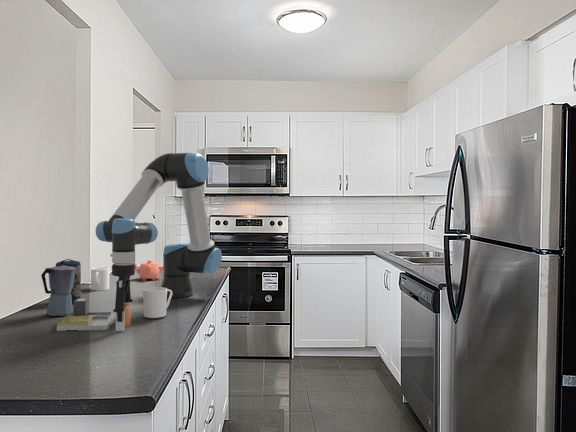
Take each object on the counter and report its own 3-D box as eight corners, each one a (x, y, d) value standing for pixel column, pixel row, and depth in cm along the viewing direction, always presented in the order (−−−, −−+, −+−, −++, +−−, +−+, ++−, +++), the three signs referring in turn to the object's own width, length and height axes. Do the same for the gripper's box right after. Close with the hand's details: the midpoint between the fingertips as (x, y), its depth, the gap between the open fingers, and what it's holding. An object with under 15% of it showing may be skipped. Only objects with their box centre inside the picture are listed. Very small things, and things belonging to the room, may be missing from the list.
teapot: (152, 276, 277) (153, 258, 276) (167, 279, 270) (167, 260, 269) (130, 280, 265) (130, 260, 265) (145, 282, 258) (145, 263, 258)
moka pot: (84, 311, 195) (84, 259, 194) (54, 320, 180) (53, 264, 180) (64, 309, 198) (64, 258, 197) (33, 318, 184) (32, 263, 183)
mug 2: (145, 320, 183) (145, 292, 183) (140, 315, 191) (140, 288, 190) (175, 317, 188) (175, 290, 188) (169, 312, 196) (169, 286, 195)
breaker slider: (87, 314, 183) (87, 298, 183) (85, 317, 179) (85, 300, 179) (76, 314, 183) (76, 298, 182) (73, 317, 179) (73, 300, 178)
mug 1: (86, 292, 231) (86, 270, 230) (93, 287, 243) (93, 267, 242) (104, 292, 232) (104, 270, 231) (110, 287, 244) (110, 267, 243)
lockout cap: (131, 324, 178) (131, 302, 177) (129, 328, 173) (129, 305, 173) (117, 324, 177) (117, 303, 176) (114, 328, 172) (114, 306, 172)
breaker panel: (115, 317, 187) (115, 310, 187) (107, 329, 170) (107, 321, 170) (69, 318, 184) (69, 310, 184) (56, 331, 167) (56, 322, 167)
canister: (71, 305, 204) (71, 261, 203) (50, 304, 206) (50, 260, 205) (85, 301, 213) (85, 258, 212) (65, 299, 215) (65, 257, 214)
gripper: (117, 259, 185) (117, 317, 186) (105, 269, 161) (105, 335, 162) (139, 259, 187) (138, 316, 188) (129, 268, 162) (129, 335, 163)
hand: (123, 325), depth 175 cm, fingers open, 12 cm apart
